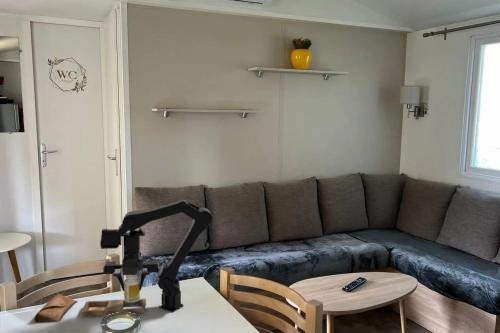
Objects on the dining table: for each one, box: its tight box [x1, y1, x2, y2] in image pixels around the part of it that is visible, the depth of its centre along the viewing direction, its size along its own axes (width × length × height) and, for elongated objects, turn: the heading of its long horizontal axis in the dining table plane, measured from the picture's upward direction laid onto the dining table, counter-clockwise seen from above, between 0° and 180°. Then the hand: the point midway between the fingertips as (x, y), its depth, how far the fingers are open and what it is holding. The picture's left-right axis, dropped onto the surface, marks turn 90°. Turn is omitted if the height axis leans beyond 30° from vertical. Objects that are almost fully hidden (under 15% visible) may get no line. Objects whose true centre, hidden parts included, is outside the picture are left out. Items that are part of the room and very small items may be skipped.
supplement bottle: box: [123, 272, 141, 303], centre depth 157 cm, size 5×5×10 cm
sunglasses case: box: [34, 292, 78, 324], centre depth 155 cm, size 18×7×7 cm, turn 3°
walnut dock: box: [80, 298, 147, 318], centre depth 156 cm, size 21×9×2 cm, turn 100°
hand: (132, 290), depth 157 cm, fingers closed on supplement bottle, 5 cm apart
